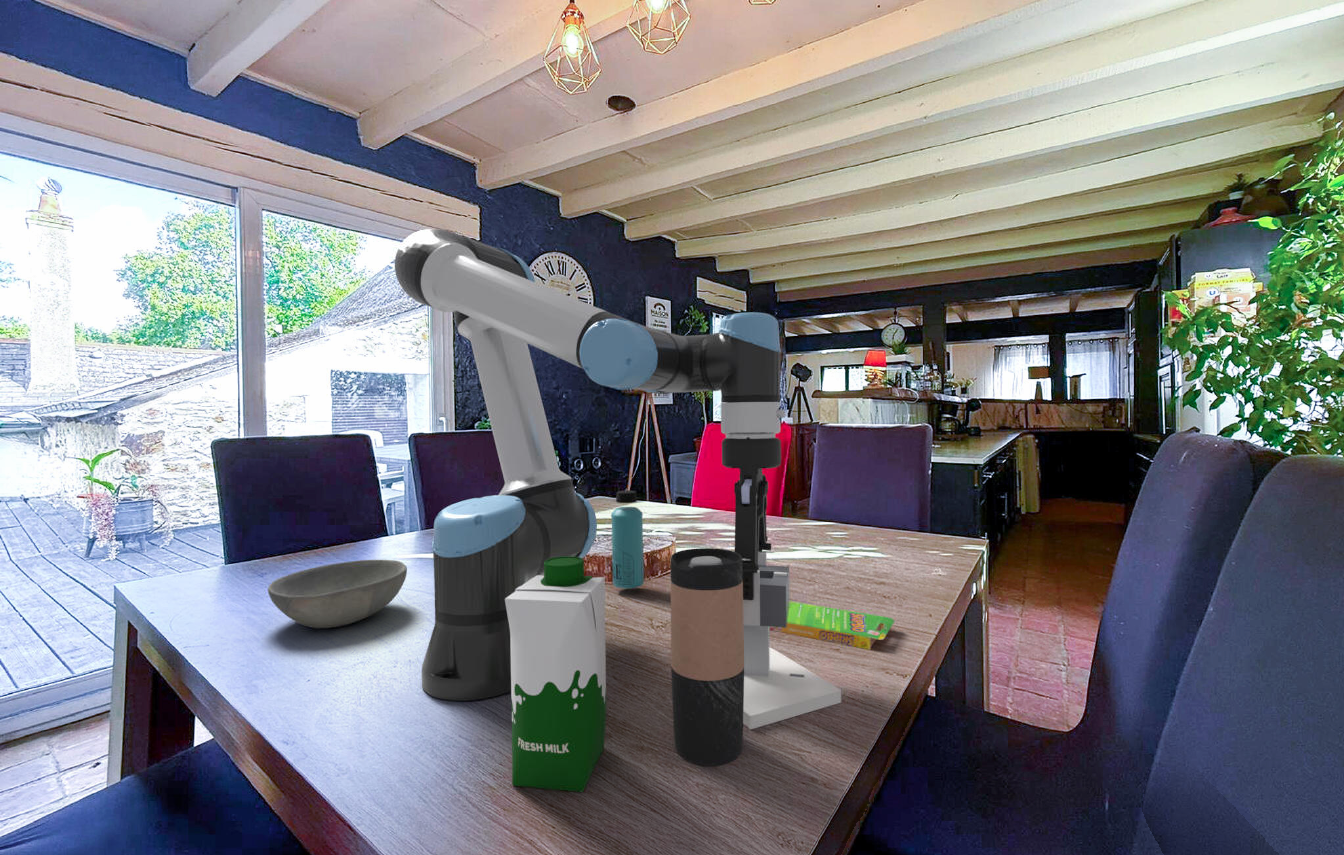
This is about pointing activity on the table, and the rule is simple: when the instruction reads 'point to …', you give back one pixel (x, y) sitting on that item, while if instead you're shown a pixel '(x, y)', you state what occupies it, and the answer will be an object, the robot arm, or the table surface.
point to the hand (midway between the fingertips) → (752, 610)
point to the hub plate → (778, 683)
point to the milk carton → (557, 676)
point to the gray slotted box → (774, 595)
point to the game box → (835, 625)
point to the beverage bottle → (627, 543)
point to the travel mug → (707, 654)
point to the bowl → (338, 592)
